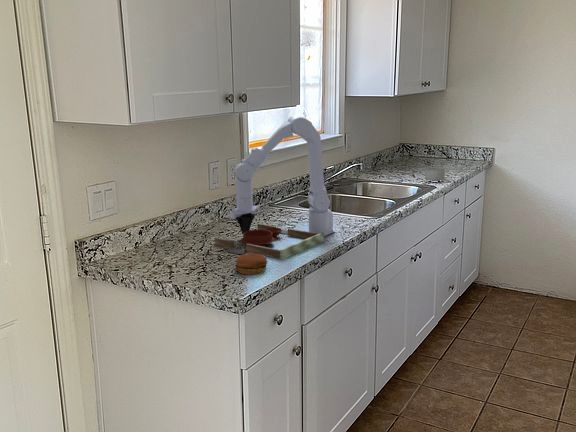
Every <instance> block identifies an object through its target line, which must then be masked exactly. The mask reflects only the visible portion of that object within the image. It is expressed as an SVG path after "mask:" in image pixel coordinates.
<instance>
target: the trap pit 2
mask: <svg viewBox="0 0 576 432" xmlns="http://www.w3.org/2000/svg"><path fill="white" fill-rule="evenodd" d="M280 234H281V235H287V236H288V229H282V231H281V232H280ZM280 234H279V235H280Z"/></svg>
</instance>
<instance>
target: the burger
mask: <svg viewBox="0 0 576 432" xmlns="http://www.w3.org/2000/svg"><path fill="white" fill-rule="evenodd" d="M235 261H236V262H235V266H234V268H235V270H236V271H237V272H238V273H240V274H242V275H253V276H254V275H259V274H262V273H264V271H265V270H266V268H267V265H268V259H267V256H265V255H262V254H256V253H251V252H246V253H242V254H240V255H239V256H238V257H237V258H236V260H235Z"/></svg>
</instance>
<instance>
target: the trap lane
mask: <svg viewBox="0 0 576 432" xmlns="http://www.w3.org/2000/svg"><path fill="white" fill-rule="evenodd" d="M267 228H277V226H276V225H270V224H264V223H257V230H265V229H267ZM287 231H288V235H287V236H288V237H293V238H299V239H303V240H300V241H297V242H296V243H292V244H290V245H287V246H286V247H283V248H280V249H279V248H272V247H267V246H265V247H263V246H257V245H252V244H245V247H246V248H245V251H246V252H245V253H253V254H262V255H264V256H265V257H270V258H271V257H272V258H276V259H281V260H284V259H286V258H288V257H291V256H293V255H296V254H298V253H300V252H303V251H305V250H307V249H309V248H311V247H314V246H316V245H318V244H320V243H323V242H325V236H324V233H313V232H307V231H308V230H307V231H306V230H300V229H296V228H295V229H294V228H287ZM214 246H217V247H218V246H219V247H222V248H227V249H231V248H235V240H232V239H226V238H221V237H215V238H214Z"/></svg>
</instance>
